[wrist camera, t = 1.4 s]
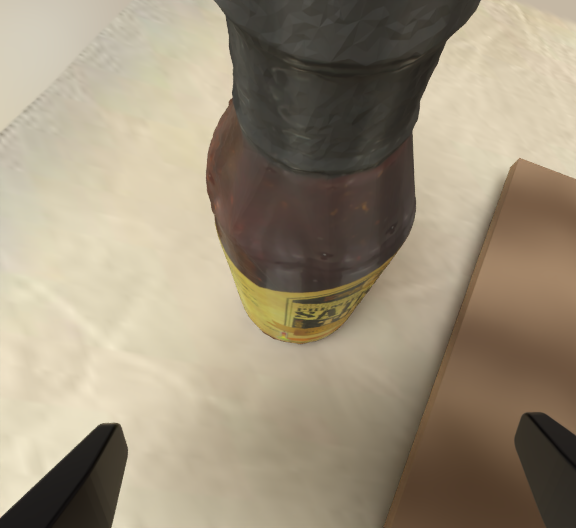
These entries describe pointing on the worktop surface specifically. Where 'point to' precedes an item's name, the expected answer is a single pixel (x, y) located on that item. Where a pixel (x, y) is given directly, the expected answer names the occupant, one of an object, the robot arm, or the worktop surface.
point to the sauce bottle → (320, 150)
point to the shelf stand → (500, 365)
